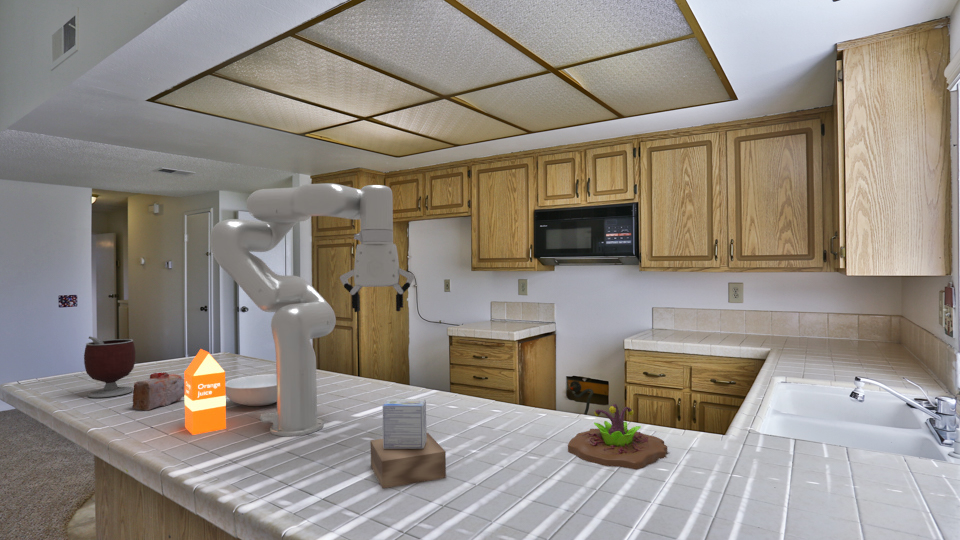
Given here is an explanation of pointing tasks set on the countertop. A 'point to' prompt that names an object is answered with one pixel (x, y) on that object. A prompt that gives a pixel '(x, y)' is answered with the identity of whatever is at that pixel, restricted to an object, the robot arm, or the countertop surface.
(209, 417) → the orange juice
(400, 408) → the medicine box
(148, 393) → the food item
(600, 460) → the plant
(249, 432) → the countertop surface
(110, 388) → the mate gourd
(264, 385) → the serving bowl
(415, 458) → the walnut block
